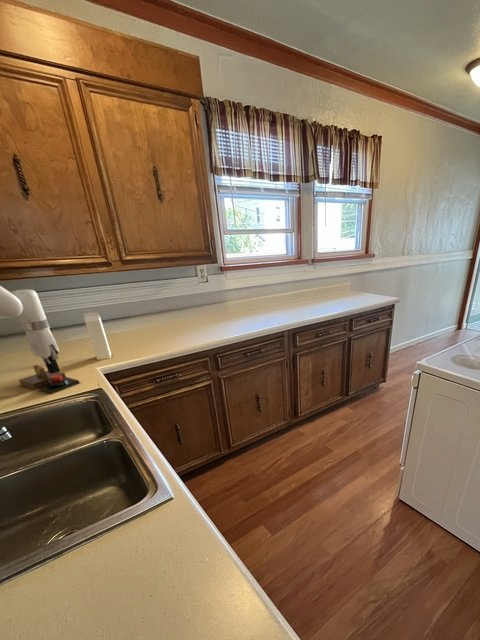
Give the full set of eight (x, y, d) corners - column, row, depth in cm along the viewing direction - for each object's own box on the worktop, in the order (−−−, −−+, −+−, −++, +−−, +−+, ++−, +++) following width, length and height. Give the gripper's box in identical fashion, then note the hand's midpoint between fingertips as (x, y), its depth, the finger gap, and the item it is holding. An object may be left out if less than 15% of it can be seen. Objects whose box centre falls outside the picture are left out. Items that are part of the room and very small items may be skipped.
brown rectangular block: (47, 377, 131) (43, 367, 129) (43, 378, 130) (39, 368, 128) (41, 374, 134) (37, 364, 132) (36, 375, 133) (32, 365, 131)
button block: (51, 394, 123) (48, 386, 122) (39, 391, 127) (36, 383, 125) (79, 384, 132) (77, 376, 131) (68, 380, 135) (65, 373, 134)
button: (55, 382, 126) (53, 378, 125) (49, 381, 127) (48, 377, 126) (64, 379, 129) (63, 375, 128) (59, 378, 130) (57, 374, 129)
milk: (98, 357, 162) (83, 312, 152) (111, 355, 164) (98, 310, 154) (97, 360, 157) (82, 314, 147) (111, 358, 159) (97, 313, 149)
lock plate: (35, 391, 127) (32, 383, 125) (21, 386, 131) (18, 379, 129) (67, 379, 136) (64, 372, 135) (52, 376, 140) (50, 369, 139)
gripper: (13, 326, 118) (33, 372, 127) (36, 330, 112) (56, 378, 121) (35, 321, 124) (53, 366, 133) (59, 324, 118) (76, 371, 127)
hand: (54, 372), depth 127 cm, fingers closed
